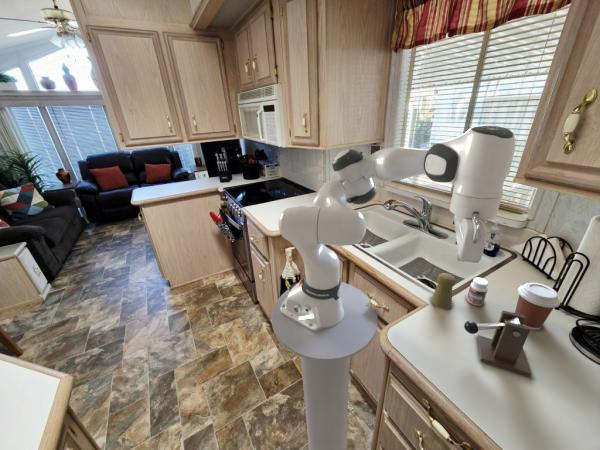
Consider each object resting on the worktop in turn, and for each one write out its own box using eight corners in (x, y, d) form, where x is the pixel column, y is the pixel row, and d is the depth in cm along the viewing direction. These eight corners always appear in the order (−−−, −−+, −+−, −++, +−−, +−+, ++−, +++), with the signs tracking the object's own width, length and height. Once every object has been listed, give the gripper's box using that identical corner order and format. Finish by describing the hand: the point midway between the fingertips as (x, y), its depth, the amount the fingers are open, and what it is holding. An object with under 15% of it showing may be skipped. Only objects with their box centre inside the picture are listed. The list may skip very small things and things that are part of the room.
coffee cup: (547, 338, 69) (563, 305, 64) (506, 322, 75) (518, 291, 70) (548, 319, 75) (563, 288, 70) (510, 306, 81) (521, 275, 76)
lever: (467, 336, 66) (462, 327, 66) (466, 328, 69) (462, 318, 68) (524, 335, 59) (520, 324, 59) (521, 325, 62) (517, 315, 61)
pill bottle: (464, 301, 84) (470, 281, 81) (468, 294, 87) (474, 274, 84) (481, 308, 81) (487, 287, 77) (484, 300, 84) (491, 280, 80)
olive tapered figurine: (454, 301, 84) (460, 275, 80) (447, 311, 80) (454, 284, 76) (435, 293, 88) (440, 268, 84) (428, 302, 84) (433, 276, 80)
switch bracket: (480, 361, 64) (493, 325, 59) (476, 338, 71) (488, 303, 66) (530, 376, 60) (548, 339, 55) (521, 350, 66) (537, 314, 61)
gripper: (501, 225, 45) (482, 286, 51) (483, 192, 61) (471, 241, 67) (460, 221, 48) (447, 279, 53) (454, 191, 64) (444, 238, 70)
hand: (460, 258), depth 60 cm, fingers closed
